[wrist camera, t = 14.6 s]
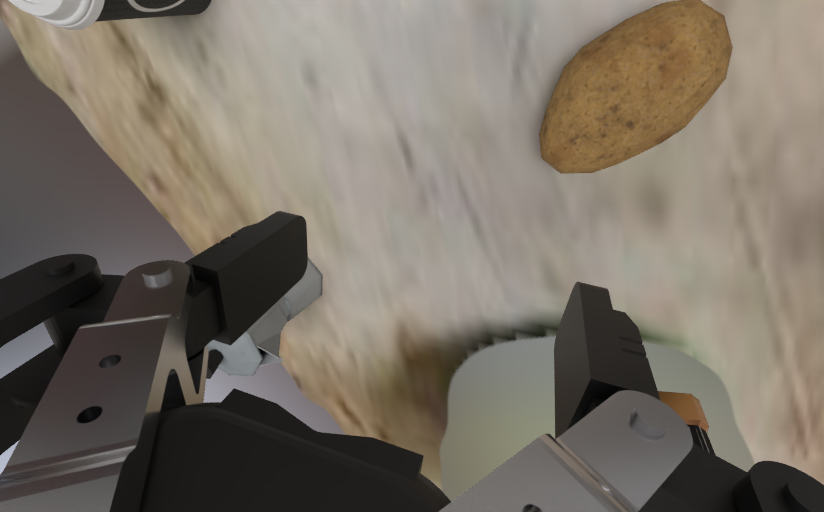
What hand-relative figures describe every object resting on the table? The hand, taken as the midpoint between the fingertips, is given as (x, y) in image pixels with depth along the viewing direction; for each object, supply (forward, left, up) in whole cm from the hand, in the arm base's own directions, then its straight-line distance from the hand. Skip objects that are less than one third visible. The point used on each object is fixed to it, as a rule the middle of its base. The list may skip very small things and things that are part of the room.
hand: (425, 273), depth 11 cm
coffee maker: (+27, +22, -30) cm, 46 cm away
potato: (-9, -2, -30) cm, 32 cm away
